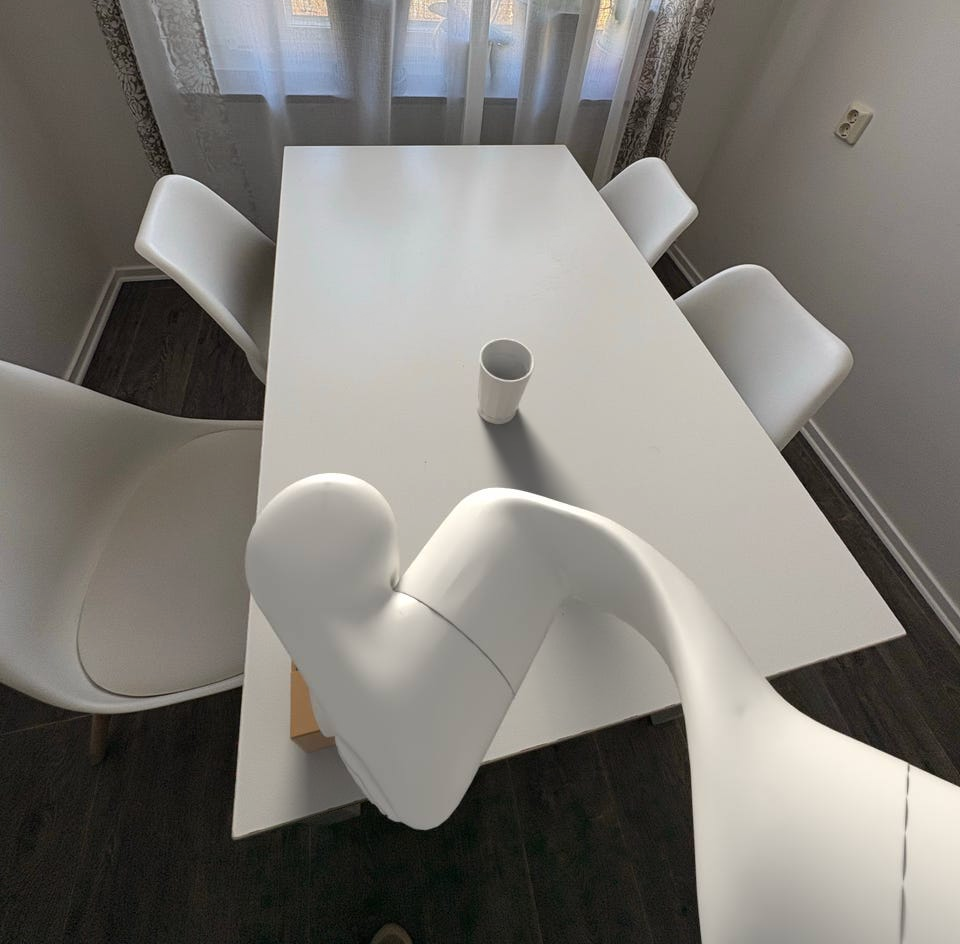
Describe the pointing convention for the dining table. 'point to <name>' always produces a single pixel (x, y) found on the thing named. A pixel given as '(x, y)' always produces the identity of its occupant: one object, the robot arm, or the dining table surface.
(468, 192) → the dining table surface
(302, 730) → the flap
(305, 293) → the dining table surface
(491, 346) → the cup
